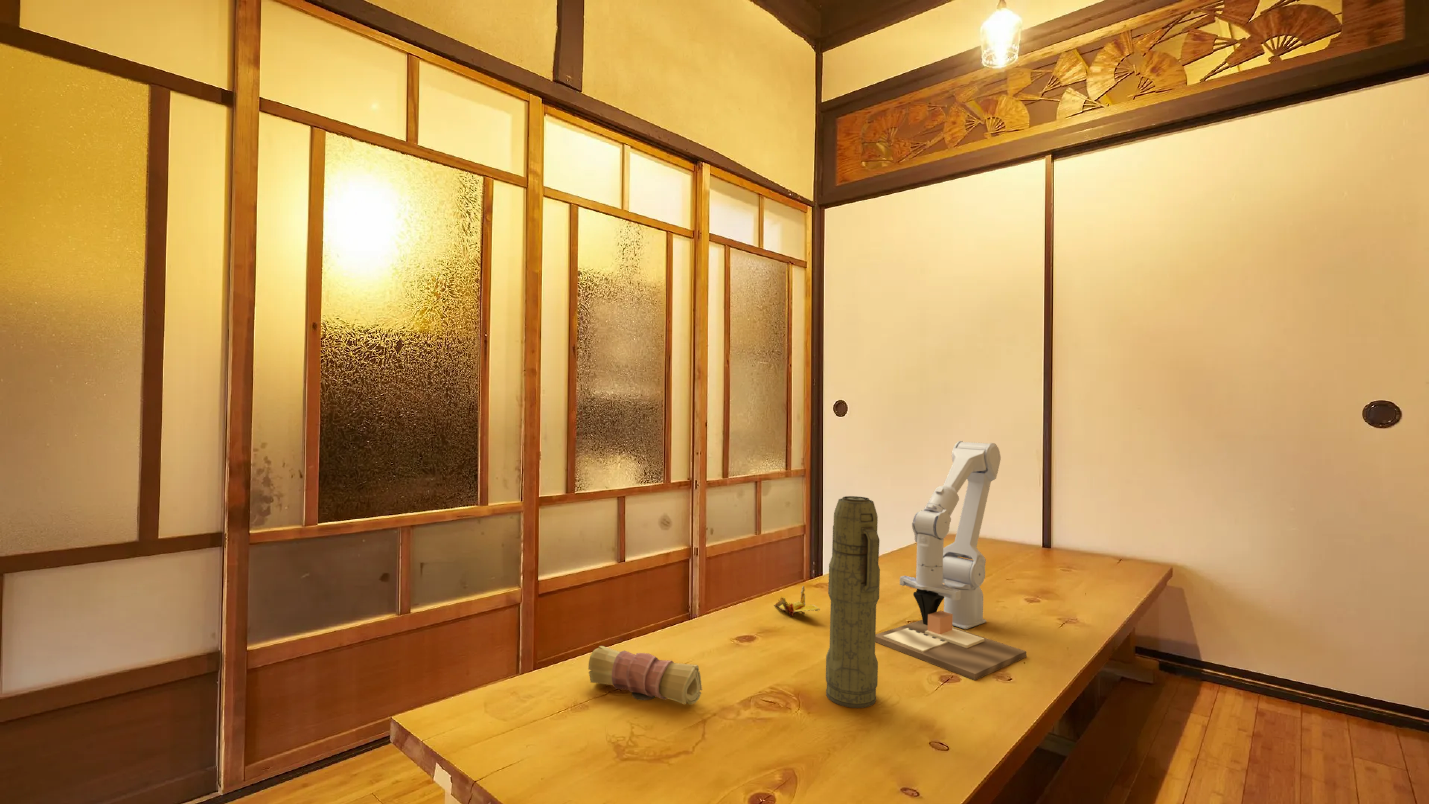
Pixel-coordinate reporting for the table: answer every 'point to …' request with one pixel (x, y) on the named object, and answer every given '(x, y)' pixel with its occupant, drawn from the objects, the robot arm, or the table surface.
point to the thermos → (853, 604)
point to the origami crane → (796, 605)
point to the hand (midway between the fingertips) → (928, 623)
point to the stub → (949, 630)
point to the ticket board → (950, 651)
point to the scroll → (645, 675)
